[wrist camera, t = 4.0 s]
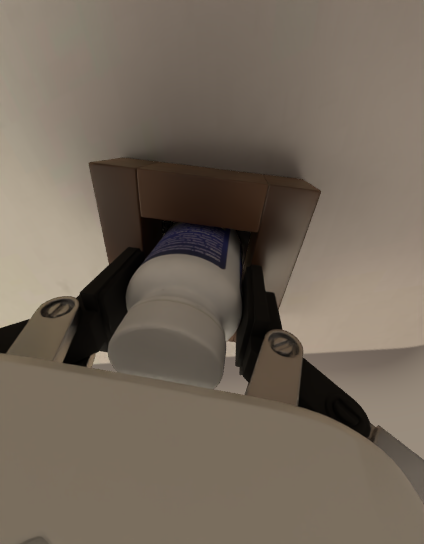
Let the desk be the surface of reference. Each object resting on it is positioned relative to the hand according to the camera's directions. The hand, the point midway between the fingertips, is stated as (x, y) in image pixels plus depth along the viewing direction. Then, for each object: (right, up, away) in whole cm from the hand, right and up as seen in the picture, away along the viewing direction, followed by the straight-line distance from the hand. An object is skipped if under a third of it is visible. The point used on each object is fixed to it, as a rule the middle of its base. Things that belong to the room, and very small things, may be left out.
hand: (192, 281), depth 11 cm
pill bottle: (0, +2, +3) cm, 4 cm away
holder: (0, +2, +3) cm, 4 cm away
